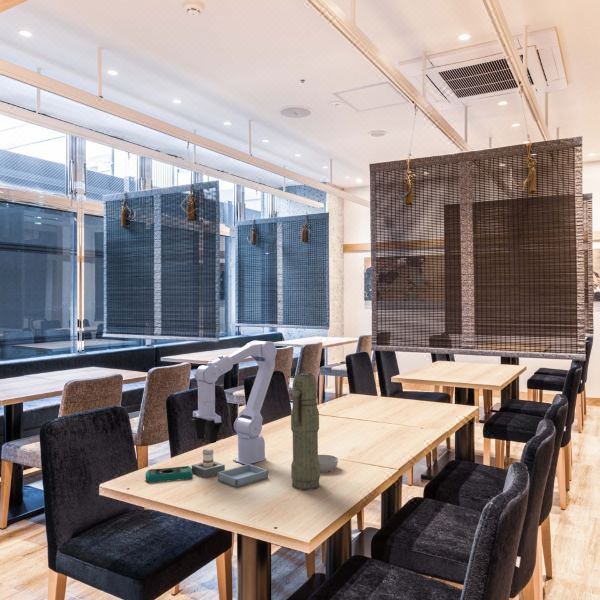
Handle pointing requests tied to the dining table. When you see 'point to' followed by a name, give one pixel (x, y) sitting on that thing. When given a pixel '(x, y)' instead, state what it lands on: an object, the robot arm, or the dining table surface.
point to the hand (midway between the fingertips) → (206, 440)
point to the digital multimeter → (168, 474)
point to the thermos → (305, 433)
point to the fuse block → (207, 469)
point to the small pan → (327, 462)
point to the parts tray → (242, 475)
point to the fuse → (208, 458)
